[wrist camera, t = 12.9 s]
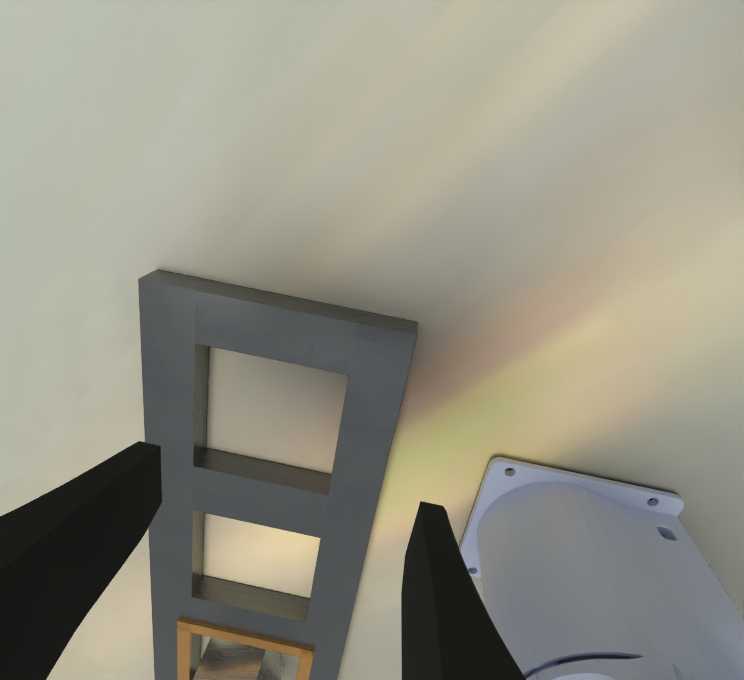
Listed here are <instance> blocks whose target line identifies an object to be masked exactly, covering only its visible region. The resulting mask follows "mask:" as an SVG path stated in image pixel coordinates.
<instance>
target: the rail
mask: <svg viewBox="0 0 744 680" xmlns="http://www.w3.org/2000/svg"><path fill="white" fill-rule="evenodd" d="M138 282H139V306H140V331H141V355H142V379H143V404H144V428H145V443H150V444H155V445H159V446H161V480H162V503H161V505H160V507H159V509H158V511H157V513H156V514H155V516H154V518H153V520H152V522H151V524H150V525H149V550H150V574H151V598H152V622H153V647H154V671H155V680H193V678H194V676H195V673H196V671H197V669H198V666H199V664H200V655H201V635H204V636H209V637H213V638H218V639H222V640H226V641H231V642H235V643H240V644H244V645H249V646H253V647H258V648H262V649H267V650H271V651H275V652H280V653H284V654H289V655H293V656H298V657H300V660H299V665H298V671H297V677H296V680H336V679H337V674H338V670H339V666H340V662H341V657H342V653H343V649H344V644H345V640H346V636H347V632H348V627H349V623H350V619H351V615H352V610H353V606H354V602H355V597H356V593H357V589H358V585H359V580H360V576H361V572H362V567H363V563H364V559H365V555H366V550H367V546H368V542H369V538H370V533H371V529H372V525H373V520H374V516H375V512H376V508H377V503H378V499H379V495H380V491H381V486H382V482H383V478H384V473H385V469H386V465H387V461H388V456H389V452H390V448H391V444H392V439H393V435H394V431H395V426H396V422H397V418H398V414H399V409H400V405H401V401H402V397H403V392H404V388H405V384H406V379H407V375H408V371H409V367H410V362H411V358H412V354H413V350H414V345H415V341H416V337H417V323H418V322H414V321H409V320H404V319H400V318H395V317H390V316H385V315H380V314H375V313H370V312H365V311H360V310H355V309H350V308H345V307H340V306H335V305H330V304H325V303H320V302H315V301H310V300H306V299H301V298H296V297H291V296H286V295H281V294H276V293H271V292H266V291H261V290H256V289H251V288H246V287H241V286H236V285H231V284H226V283H221V282H217V281H212V280H207V279H202V278H197V277H192V276H187V275H182V274H177V273H172V272H167V271H162V270H155V271H153V272H151V273H149V274H147V275H145V276H143V277H141V278H139V279H138ZM209 346H211V347H215V348H220V349H225V350H230V351H235V352H240V353H244V354H249V355H254V356H259V357H264V358H269V359H274V360H278V361H283V362H288V363H293V364H298V365H303V366H307V367H312V368H317V369H322V370H327V371H332V372H337V373H341V374H346V375H349V378H348V384H347V390H346V395H345V401H344V407H343V413H342V419H341V424H340V430H339V436H338V442H337V447H336V453H335V459H334V465H333V471H332V475H330V474H325V473H321V472H316V471H311V470H307V469H302V468H297V467H293V466H288V465H283V464H278V463H274V462H269V461H264V460H260V459H255V458H250V457H246V456H241V455H236V454H232V453H227V452H222V451H217V450H213V449H208V448H206V433H207V396H208V359H209ZM204 513H208V514H213V515H217V516H222V517H227V518H231V519H236V520H240V521H245V522H250V523H254V524H259V525H264V526H268V527H273V528H277V529H282V530H287V531H291V532H296V533H300V534H305V535H310V536H314V537H319V538H321V540H320V546H319V551H318V557H317V563H316V569H315V574H314V580H313V586H312V592H311V597H310V599H307V598H302V597H298V596H293V595H289V594H284V593H280V592H275V591H271V590H266V589H262V588H257V587H253V586H248V585H244V584H239V583H235V582H230V581H225V580H221V579H216V578H212V577H207V576H203V544H204Z"/></svg>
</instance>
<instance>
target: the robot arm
mask: <svg viewBox="0 0 744 680" xmlns="http://www.w3.org/2000/svg"><path fill="white" fill-rule="evenodd" d="M507 468H513V470H511V471H506V469H507ZM651 498H654V499H653V500H650V501H648V500H649V499H651ZM161 503H162V480H161V446H159V445H155V444H150V443H145V442H140V441H139V442H137V443H135V444H133V445H131V446H130V447H128V448H126V449H124V450H123V451H121V452H119V453H118V454H116V455H114V456H112V457H111V458H109V459H107V460H106V461H104V462H102V463H100V464H99V465H97V466H95V467H94V468H92V469H90V470H88V471H86V472H85V473H83V474H81V475H79V476H78V477H76V478H74V479H72V480H71V481H69V482H67V483H65V484H63V485H62V486H60V487H58V488H56V489H54V490H52V491H50V492H48V493H46V494H44V495H42V496H40V497H39V498H37V499H35V500H33V501H31V502H29V503H27V504H25V505H23V506H21V507H19V508H17V509H15V510H13V511H11V512H9V513H7V514H5V515H3V516H0V680H46V679H47V677H48V675H49V674H50V672H51V670H52V669H53V667H54V665H55V664H56V662H57V660H58V659H59V657H60V655H61V654H62V652H63V650H64V649H65V647H66V645H67V644H68V642H69V640H70V639H71V637H72V636H73V634H74V632H75V631H76V629H77V628H78V626H79V625H80V624H81V622H82V621H83V619H84V618H85V616H86V615H87V613H88V612H89V611H90V609H91V608H92V606H93V605H94V604H95V602H96V601H97V600H98V598H99V597H100V596H101V594H102V593H103V591H104V590H105V589H106V587H107V586H108V585H109V583H110V582H111V580H112V579H113V578H114V576H115V575H116V574H117V572H118V571H119V570H120V568H121V567H122V565H123V564H124V563H125V561H126V560H127V558H128V557H129V556H130V554H131V553H132V552H133V550H134V549H135V547H136V546H137V545H138V543H139V542H140V540H141V539H142V537H143V536H144V534H145V532H146V531H147V529H148V527H149V525H150V524H151V522H152V520H153V518H154V516H155V514H156V513H157V511H158V509H159V507H160V505H161ZM683 508H684V502H683V500H682V499H681V497H680V496H679V495H677V494H674V493H669V492H664V491H659V490H655V489H650V488H645V487H640V486H636V485H631V484H626V483H621V482H616V481H612V480H607V479H602V478H597V477H593V476H588V475H583V474H578V473H574V472H569V471H564V470H559V469H554V468H550V467H545V466H540V465H535V464H531V463H526V462H521V461H516V460H511V459H507V458H502V457H497V458H494V459H492V460H491V461H490V462H489V465H488V467H487V470H486V473H485V476H484V479H483V482H482V485H481V487H480V490H479V493H478V496H477V499H476V502H475V505H474V507H473V510H472V513H471V516H470V519H469V522H468V524H467V527H466V530H465V533H464V536H463V539H462V542H461V544H460V547H458V545H457V542H456V539H455V536H454V534H453V531H452V528H451V525H450V522H449V519H448V515H447V512H446V510H445V508H444V507H443V506H440V505H436V504H431V503H426V502H422V501H421V502H420V505H419V509H418V512H417V516H416V519H415V523H414V526H413V530H412V533H411V537H410V540H409V544H408V547H407V551H406V554H405V563H404V573H403V583H402V680H744V618H743V617H742V615H741V614H740V612H739V611H738V609H737V608H736V606H735V604H734V603H733V601H732V600H731V598H730V597H729V595H728V594H727V592H726V591H725V589H724V588H723V586H722V584H721V583H720V581H719V580H718V578H717V577H716V575H715V574H714V572H713V571H712V569H711V568H710V566H709V565H708V563H707V561H706V560H705V558H704V557H703V555H702V554H701V552H700V551H699V549H698V548H697V546H696V545H695V543H694V542H693V540H692V538H691V537H690V535H689V534H688V532H687V531H686V529H685V528H684V526H683V525H682V523H681V522H680V520H679V518H678V516H679V515H680V513H681V511H682V510H683ZM471 567H474V568H471ZM471 577H476V578H481V579H482V587H483V596H484V604H485V606H484V604H483V602H482V600H481V598H480V596H479V594H478V592H477V590H476V587H475V585H474V583H473V581H472V578H471Z"/></svg>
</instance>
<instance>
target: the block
mask: <svg viewBox="0 0 744 680" xmlns="http://www.w3.org/2000/svg"><path fill="white" fill-rule="evenodd" d="M283 670H284V666H283V662H282V659H281V656H280V653H279V652H275V651H271V650H267V649H262V648H258V647H253V646H249V645H244V644H240V643H235V642H231V641H226V640H222V639H218V638H213V637H211V638H210V641H209V643H208V645H207V648H206V650H205V652H204V655H203V657H202V659H201V662H200V664H199V666H198V669H197V671H196V673H195V676H194V678H193V680H281V677H282V674H283Z"/></svg>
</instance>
